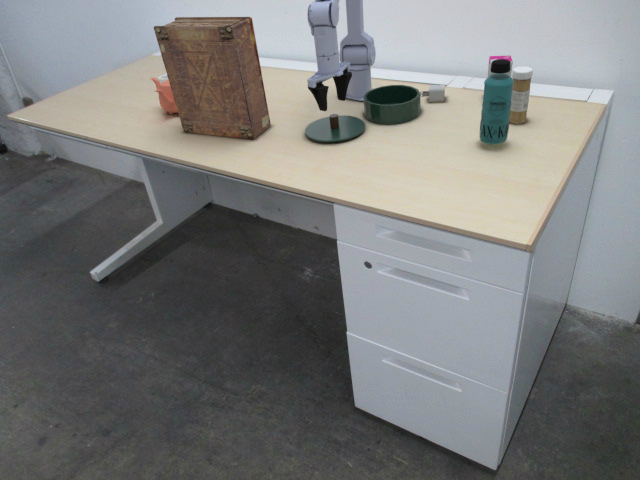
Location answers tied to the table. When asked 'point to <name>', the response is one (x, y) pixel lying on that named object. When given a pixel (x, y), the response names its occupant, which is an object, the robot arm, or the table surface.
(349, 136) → the lid
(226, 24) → the book
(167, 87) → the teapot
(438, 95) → the usb wall charger
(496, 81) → the beverage bottle
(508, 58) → the supplement box
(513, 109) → the sprinkles bottle
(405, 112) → the pot
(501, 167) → the table surface
